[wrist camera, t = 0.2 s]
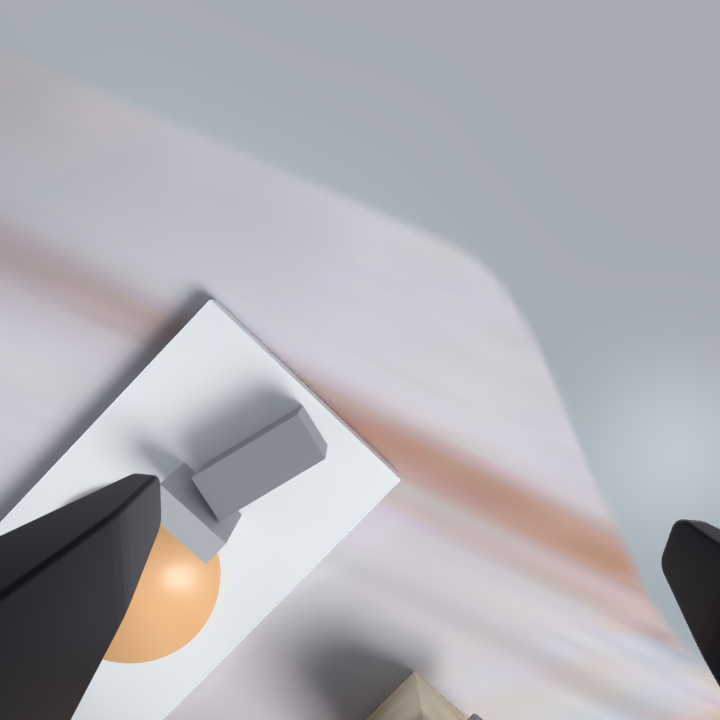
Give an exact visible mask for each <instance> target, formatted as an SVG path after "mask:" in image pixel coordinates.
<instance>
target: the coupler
mask: <svg viewBox="0 0 720 720" xmlns="http://www.w3.org/2000/svg"><path fill="white" fill-rule="evenodd" d="M365 720H482V719H481V718H480V717H479V716H478V715H476V714H473V715H472V716H471V717H470V718H468V719H467V718H466V717H465V716H464V715H463V714H462V713H461V712H459V711H458V710H457V709H456V708H455V707H454V706H453V705H452V704H451V703H450V702H448V701H447V700H446V699H445V698H444V697H443V696H442V695H441V694H440V693H439V692H437V691H436V690H435V689H434V688H433V687H432V686H431V685H430V684H429V683H428V682H426V681H425V680H424V679H423V678H422V677H421V676H420V675H419V674H418V673H417V672H415V671H414V672H413V673H412V674H411V675H410V676H409V677H408V678H407V679H406V680H405V681H404V682H403V683H402V684H401V685H400V686H399V687H398V688H397V689H396V690H395V691H394V692H393V693H392V694H391V695H390V696H389V697H388V698H387V699H386V700H385V701H384V702H383V703H382V704H381V705H380V706H379V707H378V708H377V709H376V710H375V711H374V712H372V713H371V714H370V715H369V716H368V717H367V718H366V719H365Z"/></svg>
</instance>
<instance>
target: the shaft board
mask: <svg viewBox="0 0 720 720" xmlns="http://www.w3.org/2000/svg"><path fill="white" fill-rule="evenodd" d="M135 473H138V474H150V475H156V476H157V477H158V478H159V480H160V490H161V524H160V528H159V532H158V534H157V537H156V539H155V542H154V544H153V547H152V550H151V552H150V555H149V557H148V560H147V562H146V565H145V567H144V570H143V572H142V575H141V578H140V580H139V583H138V585H137V588H136V590H135V593H134V595H133V598H132V600H131V603H130V605H129V608H128V610H127V612H126V615H125V617H124V619H123V621H122V623H121V625H120V627H119V629H118V631H117V633H116V635H115V637H114V638H113V640H112V642H111V644H110V646H109V648H108V650H107V652H106V654H105V656H104V657H103V659H102V661H101V663H100V665H99V667H98V669H97V671H96V673H95V675H94V677H93V678H92V680H91V682H90V684H89V686H88V688H87V690H86V692H85V694H84V696H83V698H82V699H81V701H80V703H79V705H78V707H77V709H76V711H75V713H74V715H73V717H72V719H71V720H164V719H165V718H166V717H167V716H168V715H169V714H170V713H171V712H172V711H173V710H174V708H175V707H176V706H177V705H178V704H179V703H180V702H181V701H182V700H183V699H184V698H185V697H186V696H187V695H188V694H189V693H190V692H191V691H192V690H193V689H194V688H195V687H196V686H197V685H198V684H199V683H200V682H201V681H202V680H203V679H204V678H205V677H206V676H207V675H208V674H209V673H210V672H211V671H212V670H213V669H214V668H215V667H216V666H217V665H218V664H219V663H220V662H221V661H222V660H223V659H224V658H225V657H226V656H227V655H228V654H229V653H230V652H231V651H232V650H233V649H234V648H235V647H236V646H237V645H238V644H239V643H240V642H241V641H242V640H243V639H244V638H245V637H246V636H247V635H248V634H249V633H250V632H251V631H252V630H253V629H254V628H255V627H256V626H257V625H258V624H259V623H260V622H261V621H262V620H263V619H264V618H265V617H266V616H267V615H268V614H269V613H270V612H271V611H272V610H273V608H274V607H275V606H276V605H277V604H278V603H279V602H280V601H281V600H282V599H283V598H284V597H285V596H286V595H287V594H288V593H289V592H290V591H291V590H292V589H293V588H294V587H295V586H296V585H297V584H298V583H299V582H300V581H301V580H302V579H303V578H304V577H305V576H306V575H307V574H308V573H309V572H310V571H311V570H312V569H313V568H314V567H315V566H316V565H317V564H318V563H319V562H320V561H321V560H322V559H323V558H324V557H325V556H326V555H327V554H328V553H329V552H330V551H331V550H332V549H333V548H334V547H335V546H336V545H337V544H338V543H339V542H340V541H341V540H342V539H343V538H344V537H345V536H346V535H347V534H348V533H349V532H350V531H351V530H352V529H353V528H354V527H355V526H356V525H357V524H358V523H359V522H360V521H361V520H362V519H363V518H364V517H365V516H366V515H367V514H368V513H369V512H370V511H371V510H372V508H373V507H374V506H375V505H376V504H377V503H378V502H379V501H380V500H381V499H382V498H383V497H384V496H385V495H386V494H387V493H388V492H389V491H390V490H391V489H392V488H393V487H394V486H395V485H396V484H397V483H398V482H399V481H400V480H401V478H400V475H399V473H398V472H397V471H396V470H395V469H394V468H393V467H392V466H391V465H390V464H389V463H388V462H387V461H386V460H385V459H383V458H382V457H381V456H380V455H379V454H378V453H377V452H376V451H375V450H374V449H373V448H372V447H371V446H370V445H369V444H368V443H367V442H365V441H364V440H363V439H362V438H361V437H360V436H359V435H358V434H357V433H356V432H355V431H354V430H353V429H352V428H351V427H350V426H349V425H348V424H346V423H345V422H344V421H343V420H342V419H341V418H340V417H339V416H338V415H337V414H336V413H335V412H334V411H333V410H332V409H331V408H330V407H328V406H327V405H326V404H325V403H324V402H323V401H322V400H321V399H320V398H319V397H318V396H317V395H316V394H315V393H314V392H313V391H312V390H311V389H309V388H308V387H307V386H306V385H305V384H304V383H303V382H302V381H301V380H300V379H299V378H298V377H297V376H296V375H295V374H294V373H293V372H292V371H290V370H289V369H288V368H287V367H286V366H285V365H284V364H283V363H282V362H281V361H280V360H279V359H278V358H277V357H276V356H275V355H274V354H272V353H271V352H270V351H269V350H268V349H267V348H266V347H265V346H264V345H263V344H262V343H261V342H260V341H259V340H258V339H257V338H256V337H255V336H253V335H252V334H251V333H250V332H249V331H248V330H247V329H246V328H245V327H244V326H243V325H242V324H241V323H240V322H239V321H238V320H237V319H235V318H234V317H233V316H232V315H231V314H230V313H229V312H228V311H227V310H226V309H225V308H224V307H223V306H222V305H221V304H220V303H219V302H218V301H216V300H212V299H210V300H209V301H208V302H207V303H206V304H205V305H204V306H203V307H202V308H201V309H200V310H199V311H198V313H197V314H196V315H195V316H194V317H193V318H192V319H191V320H190V321H189V322H188V323H187V324H186V325H185V326H184V327H183V328H182V330H181V331H180V332H179V333H178V334H177V335H176V336H175V337H174V338H173V339H172V340H171V341H170V342H169V343H168V344H167V345H166V347H165V348H164V349H163V350H162V351H161V352H160V353H159V354H158V355H157V356H156V357H155V358H154V359H153V360H152V361H151V362H150V364H149V365H148V366H147V367H146V368H145V369H144V370H143V371H142V372H141V373H140V374H139V375H138V376H137V377H136V378H135V379H134V381H133V382H132V383H131V384H130V385H129V386H128V387H127V388H126V389H125V390H124V391H123V392H122V393H121V394H120V395H119V396H118V398H117V399H116V400H115V401H114V402H113V403H112V404H111V405H110V406H109V407H108V408H107V409H106V410H105V411H104V412H103V413H102V415H101V416H100V417H99V418H98V419H97V420H96V421H95V422H94V423H93V424H92V425H91V426H90V427H89V428H88V429H87V430H86V432H85V433H84V434H83V435H82V436H81V437H80V438H79V439H78V440H77V441H76V442H75V443H74V444H73V445H72V446H71V447H70V449H69V450H68V451H67V452H66V453H65V454H64V455H63V456H62V457H61V458H60V459H59V460H58V461H57V462H56V463H55V464H54V466H53V467H52V468H51V469H50V470H49V471H48V472H47V473H46V474H45V475H44V476H43V477H42V478H41V479H40V480H39V482H38V483H37V484H36V485H35V486H34V487H33V488H32V489H31V490H30V491H29V492H28V493H27V494H26V495H25V496H24V497H23V499H22V500H21V501H20V502H19V503H18V504H17V505H16V506H15V507H14V508H13V509H12V510H11V511H10V512H9V513H8V514H7V516H6V517H5V518H4V519H3V520H2V521H1V522H0V536H1V535H3V534H5V533H7V532H9V531H11V530H14V529H16V528H18V527H20V526H22V525H24V524H26V523H29V522H31V521H33V520H35V519H37V518H39V517H41V516H43V515H46V514H48V513H50V512H52V511H54V510H56V509H58V508H60V507H63V506H65V505H67V504H69V503H71V502H73V501H75V500H78V499H80V498H82V497H84V496H86V495H88V494H90V493H92V492H95V491H97V490H99V489H101V488H103V487H105V486H107V485H110V484H112V483H114V482H116V481H118V480H120V479H122V478H124V477H127V476H129V475H131V474H135Z"/></svg>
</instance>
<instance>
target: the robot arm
mask: <svg viewBox="0 0 720 720" xmlns="http://www.w3.org/2000/svg"><path fill="white" fill-rule="evenodd" d="M160 524H161V490H160V480H159V478H158V477H157V476H156V475H150V474H138V473H135V474H131V475H129V476H127V477H124V478H122V479H120V480H118V481H116V482H114V483H112V484H110V485H107V486H105V487H103V488H101V489H99V490H97V491H95V492H92V493H90V494H88V495H86V496H84V497H82V498H80V499H78V500H75V501H73V502H71V503H69V504H67V505H65V506H63V507H60V508H58V509H56V510H54V511H52V512H50V513H48V514H46V515H43V516H41V517H39V518H37V519H35V520H33V521H31V522H29V523H26V524H24V525H22V526H20V527H18V528H16V529H14V530H11V531H9V532H7V533H5V534H3V535H1V536H0V720H71V719H72V717H73V715H74V713H75V711H76V709H77V707H78V705H79V703H80V701H81V699H82V698H83V696H84V694H85V692H86V690H87V688H88V686H89V684H90V682H91V680H92V678H93V677H94V675H95V673H96V671H97V669H98V667H99V665H100V663H101V661H102V659H103V657H104V656H105V654H106V652H107V650H108V648H109V646H110V644H111V642H112V640H113V638H114V637H115V635H116V633H117V631H118V629H119V627H120V625H121V623H122V621H123V619H124V617H125V615H126V612H127V610H128V608H129V605H130V603H131V600H132V598H133V595H134V593H135V590H136V588H137V585H138V583H139V580H140V578H141V575H142V572H143V570H144V567H145V565H146V562H147V560H148V557H149V555H150V552H151V550H152V547H153V544H154V542H155V539H156V537H157V534H158V532H159V528H160ZM662 569H663V573H664V575H665V577H666V579H667V581H668V584H669V585H670V588H671V590H672V592H673V594H674V596H675V599H676V601H677V603H678V605H679V607H680V609H681V611H682V614H683V616H684V618H685V620H686V622H687V624H688V626H689V629H690V631H691V633H692V635H693V637H694V639H695V642H696V644H697V646H698V647H699V650H700V652H701V654H702V656H703V658H704V660H705V662H706V663H707V665H708V667H709V669H710V671H711V672H712V674H713V676H714V678H715V679H716V681H717V683H718V685H719V686H720V529H718V528H716V527H714V526H712V525H710V524H708V523H706V522H703V521H696V520H683V519H682V520H678V521H677V522H675V524H674V525H673V527H672V530H671V533H670V535H669V538H668V541H667V544H666V547H665V549H664V552H663V555H662Z"/></svg>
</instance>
